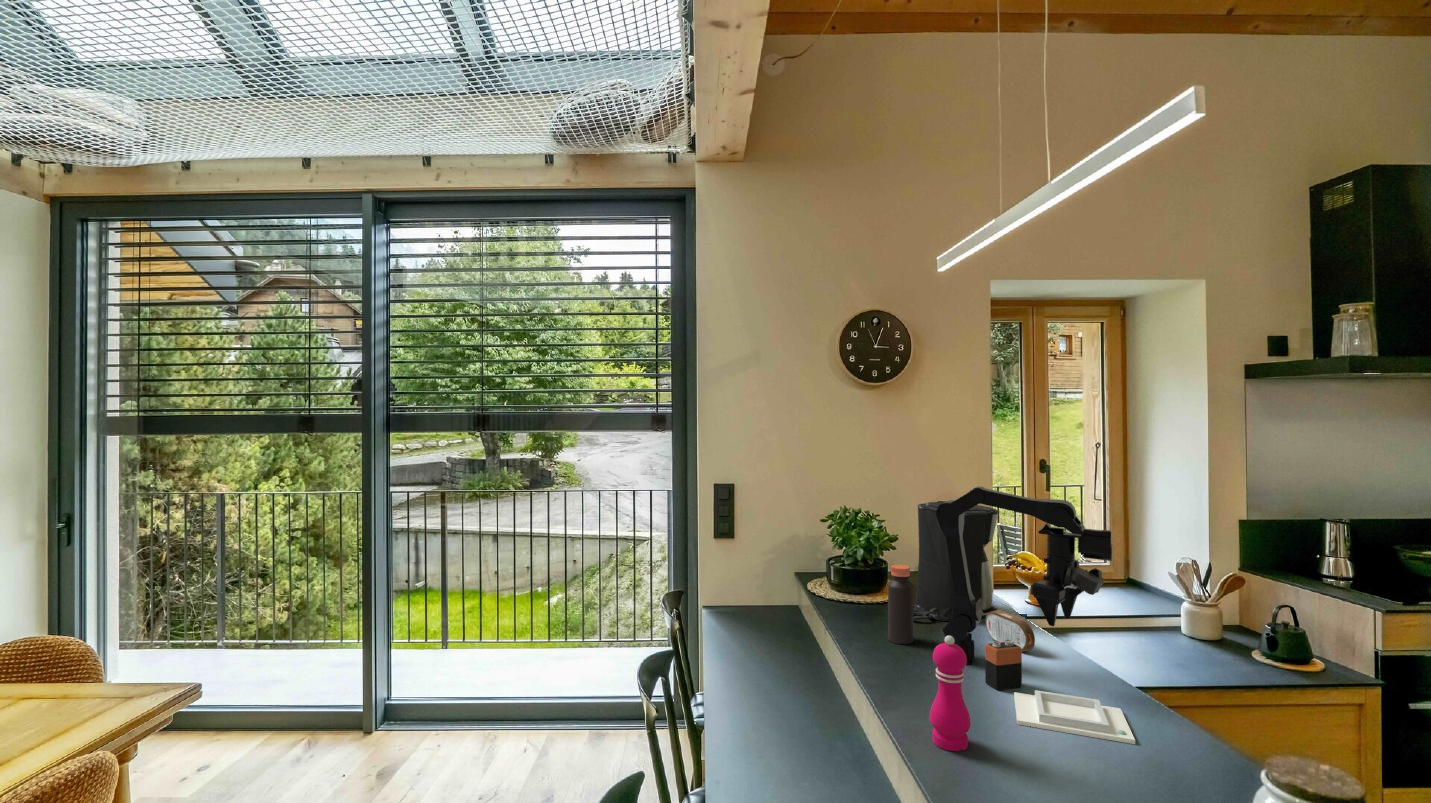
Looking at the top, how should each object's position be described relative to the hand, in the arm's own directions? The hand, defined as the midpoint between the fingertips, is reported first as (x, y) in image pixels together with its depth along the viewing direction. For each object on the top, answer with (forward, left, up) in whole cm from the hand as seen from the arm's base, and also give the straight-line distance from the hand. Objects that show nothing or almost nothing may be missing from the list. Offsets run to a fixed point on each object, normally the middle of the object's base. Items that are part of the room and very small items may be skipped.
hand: (1059, 621), depth 150 cm
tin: (-10, +19, -14) cm, 26 cm away
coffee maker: (-28, +45, -14) cm, 55 cm away
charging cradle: (0, -21, -13) cm, 25 cm away
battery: (-12, -9, -14) cm, 20 cm away
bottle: (-37, +12, -14) cm, 41 cm away
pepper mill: (-22, -41, -14) cm, 49 cm away
